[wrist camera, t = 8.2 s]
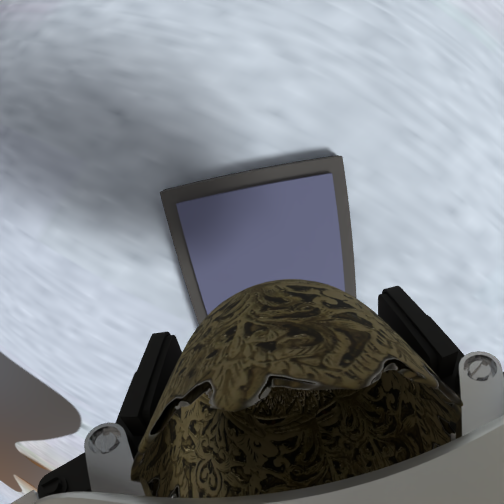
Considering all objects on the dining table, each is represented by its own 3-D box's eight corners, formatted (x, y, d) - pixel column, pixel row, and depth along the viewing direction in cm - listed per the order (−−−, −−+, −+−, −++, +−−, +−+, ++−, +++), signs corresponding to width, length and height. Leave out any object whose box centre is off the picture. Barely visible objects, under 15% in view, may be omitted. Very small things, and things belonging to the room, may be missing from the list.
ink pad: (163, 189, 17) (158, 193, 16) (337, 155, 17) (343, 156, 15) (207, 335, 20) (205, 346, 19) (352, 307, 20) (358, 317, 19)
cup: (260, 403, 14) (270, 551, 7) (148, 304, 12) (70, 472, 5) (391, 320, 13) (482, 458, 5) (297, 185, 11) (414, 287, 3)
